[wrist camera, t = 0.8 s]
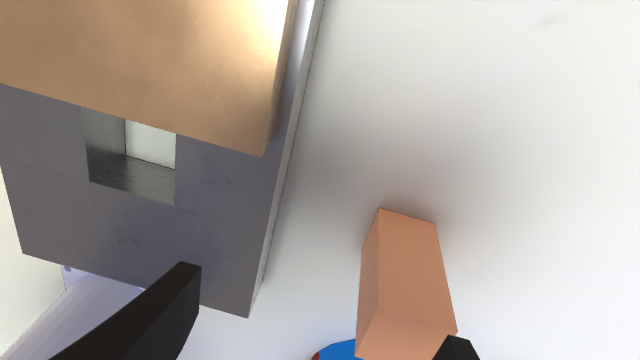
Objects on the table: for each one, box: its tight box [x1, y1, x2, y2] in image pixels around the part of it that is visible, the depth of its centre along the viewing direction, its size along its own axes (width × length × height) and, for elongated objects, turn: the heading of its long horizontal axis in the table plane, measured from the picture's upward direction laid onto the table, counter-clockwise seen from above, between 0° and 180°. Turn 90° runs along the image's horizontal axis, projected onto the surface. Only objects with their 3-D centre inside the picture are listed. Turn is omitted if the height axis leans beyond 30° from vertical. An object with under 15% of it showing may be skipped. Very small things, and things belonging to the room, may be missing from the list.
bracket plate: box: [0, 0, 325, 318], centre depth 17 cm, size 18×14×5 cm
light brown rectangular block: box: [355, 208, 458, 360], centre depth 18 cm, size 3×3×7 cm
